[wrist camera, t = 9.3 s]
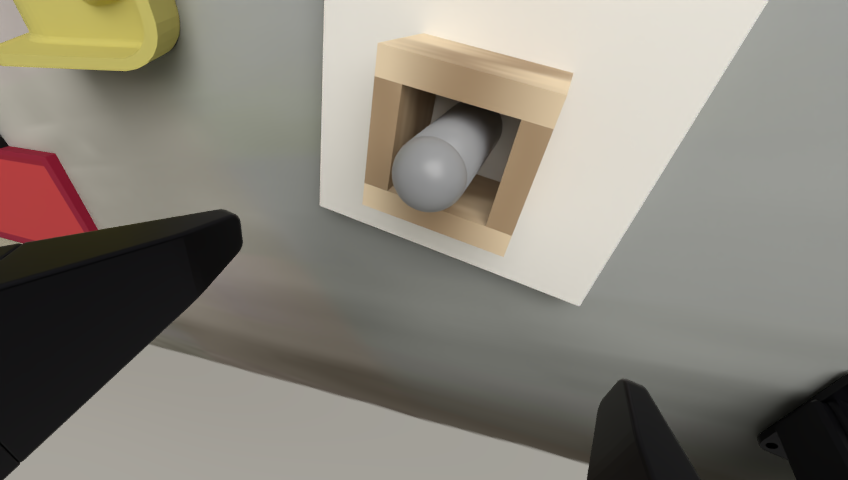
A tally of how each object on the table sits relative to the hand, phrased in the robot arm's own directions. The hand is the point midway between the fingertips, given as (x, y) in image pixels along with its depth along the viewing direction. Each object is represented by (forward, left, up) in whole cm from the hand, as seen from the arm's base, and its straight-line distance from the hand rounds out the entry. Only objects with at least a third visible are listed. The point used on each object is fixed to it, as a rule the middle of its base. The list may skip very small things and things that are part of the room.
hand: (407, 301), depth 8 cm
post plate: (+1, -1, -12) cm, 12 cm away
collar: (+1, -1, -10) cm, 10 cm away
